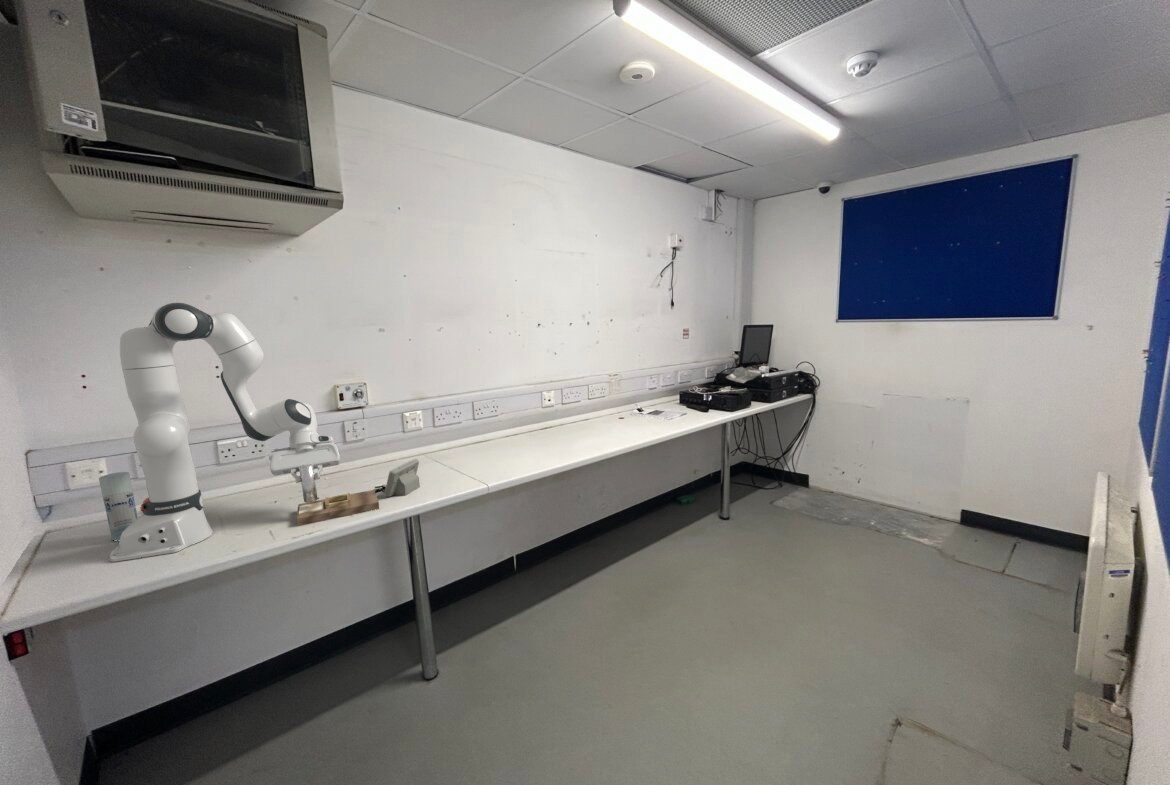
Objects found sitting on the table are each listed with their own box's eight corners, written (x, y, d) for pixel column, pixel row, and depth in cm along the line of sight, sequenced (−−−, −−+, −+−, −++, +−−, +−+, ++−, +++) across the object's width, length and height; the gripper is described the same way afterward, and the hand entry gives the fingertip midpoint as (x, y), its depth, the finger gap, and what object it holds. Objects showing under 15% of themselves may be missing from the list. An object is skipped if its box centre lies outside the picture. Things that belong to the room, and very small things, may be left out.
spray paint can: (112, 537, 141) (99, 475, 138) (141, 530, 145) (129, 470, 142) (111, 544, 136) (98, 480, 133) (141, 536, 141) (129, 474, 138)
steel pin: (303, 503, 149) (298, 468, 147) (304, 499, 153) (299, 465, 151) (317, 500, 151) (313, 466, 149) (317, 496, 155) (313, 463, 153)
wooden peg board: (297, 526, 145) (296, 514, 144) (299, 511, 157) (297, 500, 156) (379, 508, 157) (378, 497, 156) (374, 496, 169) (373, 485, 168)
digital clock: (412, 482, 182) (409, 456, 181) (428, 485, 178) (426, 459, 177) (378, 496, 168) (375, 469, 166) (395, 500, 164) (392, 472, 162)
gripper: (267, 445, 150) (268, 482, 143) (337, 435, 160) (341, 469, 153) (270, 455, 154) (271, 491, 148) (338, 445, 164) (342, 478, 158)
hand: (308, 480), depth 150 cm, fingers closed on steel pin, 4 cm apart
